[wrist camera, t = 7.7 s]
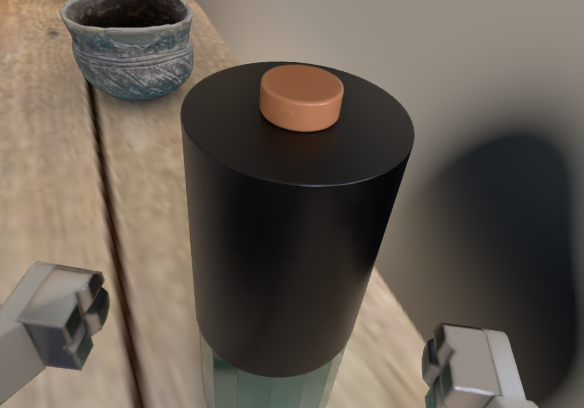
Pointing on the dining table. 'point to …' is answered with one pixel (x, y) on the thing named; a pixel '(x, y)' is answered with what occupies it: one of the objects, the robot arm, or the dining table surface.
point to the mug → (131, 45)
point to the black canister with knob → (287, 207)
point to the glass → (264, 385)
